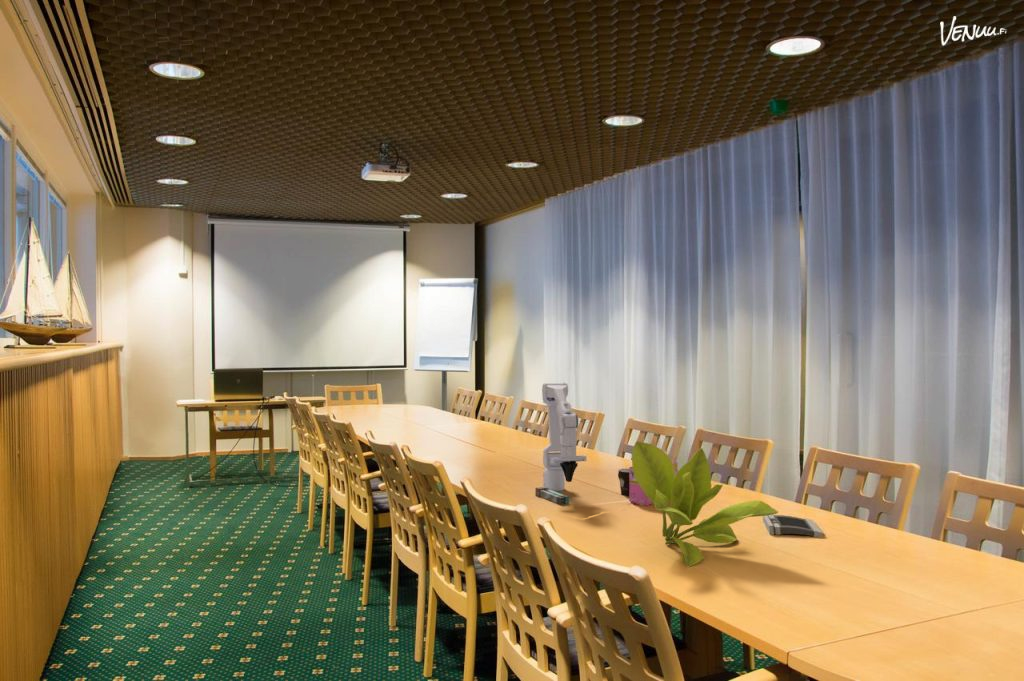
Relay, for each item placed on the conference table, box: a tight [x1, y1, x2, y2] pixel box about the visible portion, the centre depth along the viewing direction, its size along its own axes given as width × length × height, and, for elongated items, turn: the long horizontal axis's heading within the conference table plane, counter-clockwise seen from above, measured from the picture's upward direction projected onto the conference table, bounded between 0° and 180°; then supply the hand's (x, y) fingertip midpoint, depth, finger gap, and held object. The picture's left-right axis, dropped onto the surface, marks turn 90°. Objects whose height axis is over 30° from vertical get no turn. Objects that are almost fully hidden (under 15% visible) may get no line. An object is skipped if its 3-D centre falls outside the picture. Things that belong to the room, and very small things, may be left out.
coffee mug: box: [617, 467, 629, 497], centre depth 299 cm, size 12×9×10 cm
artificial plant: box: [631, 441, 779, 567], centre depth 224 cm, size 42×43×30 cm
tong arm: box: [547, 490, 570, 505], centre depth 286 cm, size 14×2×3 cm, turn 26°
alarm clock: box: [762, 514, 824, 538], centre depth 245 cm, size 17×5×16 cm
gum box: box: [628, 461, 678, 506], centre depth 291 cm, size 24×8×14 cm, turn 136°
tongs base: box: [534, 486, 565, 506], centre depth 288 cm, size 19×4×4 cm, turn 26°
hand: (568, 481), depth 286 cm, fingers closed
